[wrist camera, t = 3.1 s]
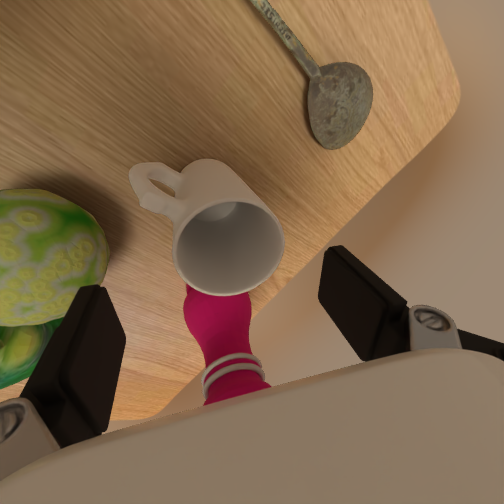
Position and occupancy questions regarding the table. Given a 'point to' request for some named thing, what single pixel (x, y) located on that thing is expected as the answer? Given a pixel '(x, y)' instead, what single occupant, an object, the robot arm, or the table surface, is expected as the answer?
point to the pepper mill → (224, 344)
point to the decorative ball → (45, 255)
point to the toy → (23, 349)
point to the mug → (213, 225)
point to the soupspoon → (327, 88)
